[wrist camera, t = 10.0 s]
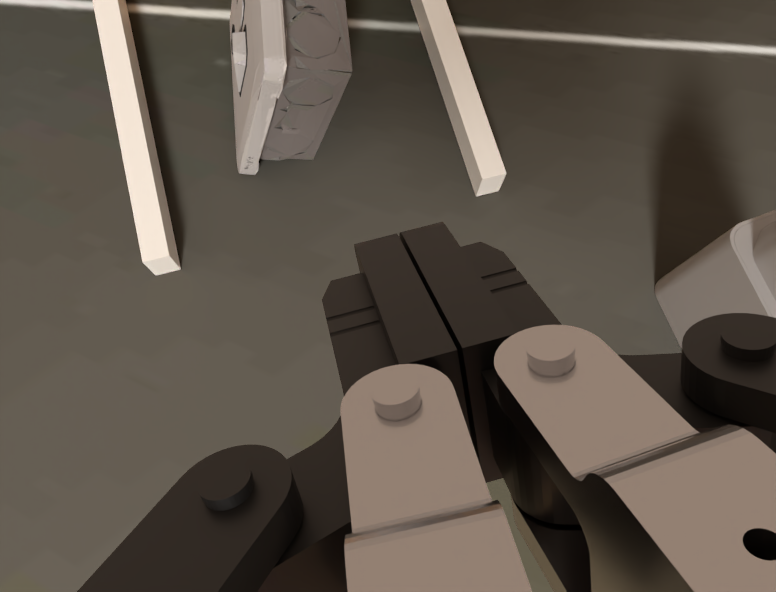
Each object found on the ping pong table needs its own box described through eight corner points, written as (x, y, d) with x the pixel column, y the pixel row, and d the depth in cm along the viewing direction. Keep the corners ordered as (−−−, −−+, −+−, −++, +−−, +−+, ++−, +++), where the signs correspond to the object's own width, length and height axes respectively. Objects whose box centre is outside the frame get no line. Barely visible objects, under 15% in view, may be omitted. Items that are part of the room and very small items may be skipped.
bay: (405, -80, 39) (408, -116, 36) (498, 191, 34) (508, 169, 32) (98, -18, 37) (80, -52, 35) (155, 275, 33) (139, 259, 30)
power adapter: (700, 387, 32) (889, 330, 20) (649, 282, 33) (799, 173, 22) (758, 364, 32) (976, 296, 21) (705, 261, 34) (882, 143, 22)
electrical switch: (230, 21, 37) (208, -129, 28) (327, 21, 37) (336, -125, 28) (238, 182, 34) (217, 74, 25) (341, 178, 35) (356, 72, 26)
